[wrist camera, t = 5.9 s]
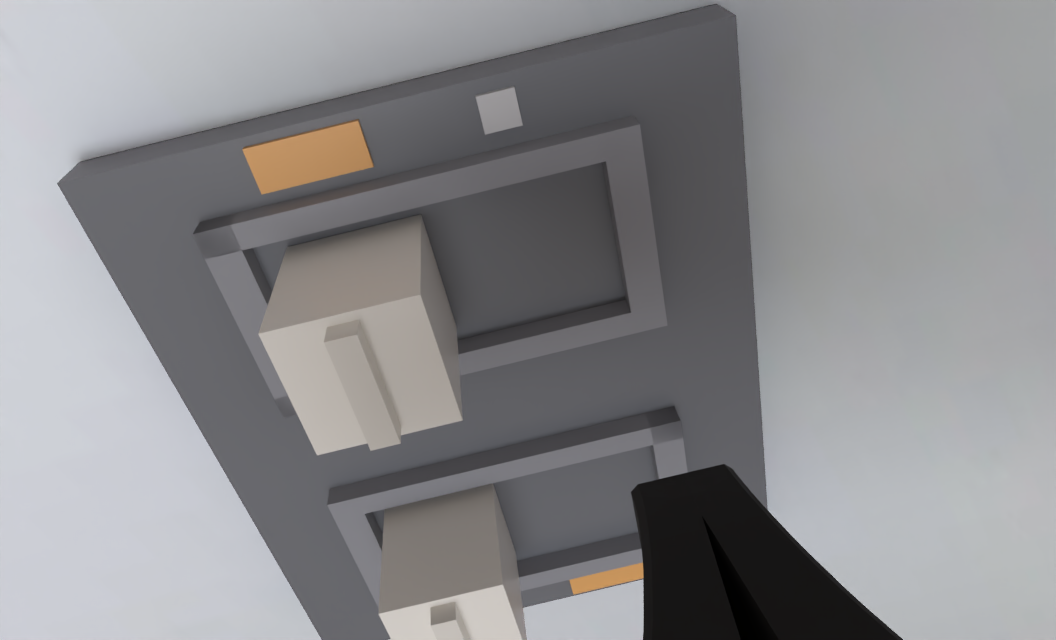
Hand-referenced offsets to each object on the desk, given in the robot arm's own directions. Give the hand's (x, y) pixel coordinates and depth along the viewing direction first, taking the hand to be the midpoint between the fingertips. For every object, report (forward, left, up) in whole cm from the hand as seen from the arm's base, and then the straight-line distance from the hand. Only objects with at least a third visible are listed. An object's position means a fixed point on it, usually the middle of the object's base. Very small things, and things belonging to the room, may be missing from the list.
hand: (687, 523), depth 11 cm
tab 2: (+5, +8, -8) cm, 12 cm away
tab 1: (+5, 0, -8) cm, 10 cm away
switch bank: (+3, +4, -10) cm, 11 cm away
